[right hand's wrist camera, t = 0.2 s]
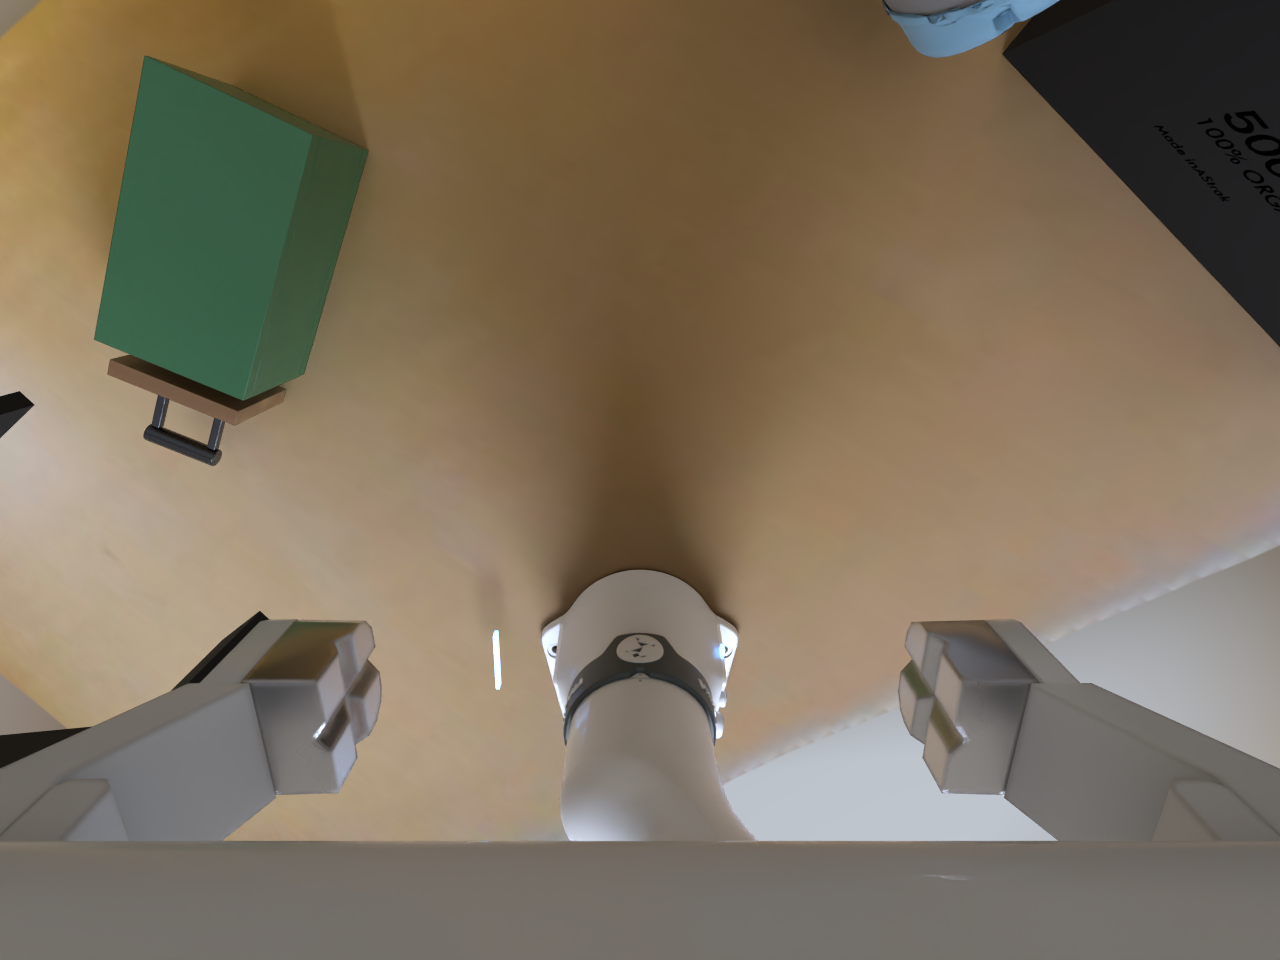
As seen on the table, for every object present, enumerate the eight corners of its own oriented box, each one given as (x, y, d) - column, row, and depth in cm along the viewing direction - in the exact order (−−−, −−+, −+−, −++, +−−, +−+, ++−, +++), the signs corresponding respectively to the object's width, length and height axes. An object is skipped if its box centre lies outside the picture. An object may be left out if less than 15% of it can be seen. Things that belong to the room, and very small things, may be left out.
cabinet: (304, 374, 57) (243, 401, 48) (179, 322, 56) (93, 339, 47) (369, 150, 51) (312, 134, 42) (231, 85, 50) (144, 54, 41)
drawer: (267, 457, 59) (218, 488, 52) (159, 414, 57) (94, 440, 50) (340, 198, 51) (294, 194, 45) (219, 142, 50) (153, 128, 43)
